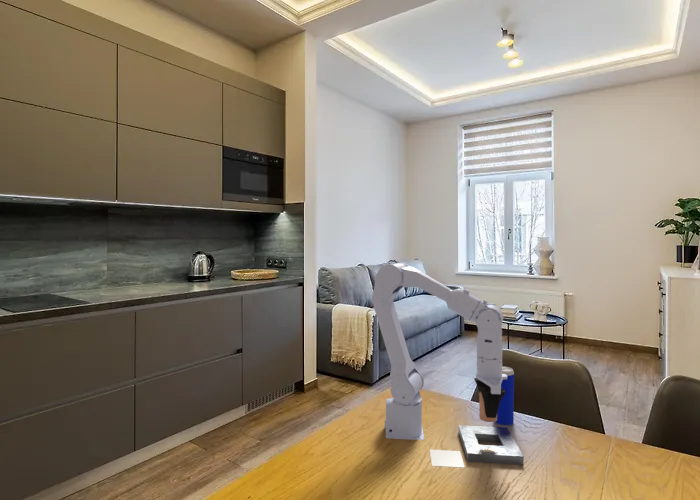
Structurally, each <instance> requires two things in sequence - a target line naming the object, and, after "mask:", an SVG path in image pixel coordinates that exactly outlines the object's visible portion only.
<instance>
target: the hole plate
mask: <svg viewBox="0 0 700 500" xmlns="http://www.w3.org/2000/svg"><path fill="white" fill-rule="evenodd" d="M458 435H459V439H460V442H461V444H462V448H463V452H464V455H465V458H466V461H467V463H481V464H498V465H499V464H500V465H514V466H524V465H525V463H524V460H525V459H524V455H523V453H522V451H521V449H520V447H519V446H518V443H517V442H516V440H515V439H514V436H512V433H511V431H510V430H509V428H508V427H507V426H488V425H487V426H482V425H481V426H480V425H465V424H464V425H463V424H462V425H461V424H458ZM479 442H480V443H497V444H498V445H494V444H493V445H489V444H487V445H486V444H479Z"/></svg>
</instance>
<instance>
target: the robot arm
mask: <svg viewBox="0 0 700 500" xmlns="http://www.w3.org/2000/svg"><path fill="white" fill-rule="evenodd" d="M402 288H418V289H420V290H423V291H424V292H426V293H428V294H431V295H432V296H434V297H436V298H438V299H440V300H442V301H444V302H445V303H446V306H447V308H448V310H450V311H451V312H454V313H455V314H457V315H459V316H461V317H462V318H464V319H466V320H468V321H470V322H471V323H475V325H476V328H477V337H476V372H475V377H474V378H473V380H474V382H475V384H476V387H477V389H478V393H479V392H480V391H481V394H482V397H483V401H484V408H485V414H486V417H487V418H496V416H497V412H498V408H499V404H500V402H501V399H502V398H503V396H504V395H505V390H504V389H501V383H502V380H503V379H507V375H506V374H502V366H503V336H502V335H503V329H502V325H503V321H504V313H503V311H502V309H501V308H500V307H499V306H497V305H496V304H495V303H493V302H492V303H490V302H489V301H488V300H487V299H485V298H484V299H481V298H479V297H477V296H475V295H473V294H472V293H470V290H469V289H468V288H464V289H462V288H455V289H451V288H450V287H448V286H446V285H445V284H443V283H441V282H439V281H438V280H436V279H435V278H433V277H431V276H429V275H427V274H426V273H424V272H423V271H421V270H420V269H418V268H416V267H414V266H411V265H408V264H406V263H405V262H401V261H400V262H399V261H397V262H394V263H389V264H388V263H387V264H385V265H382V266H381V268H379V270H378V271H377V273H376V274H375V276H374V287H373V291H372V295H371V301H372V305H373V309H374V311H375V316H376V318H377V321H378V325H379V328H380V332H381V336H382V340H383V342H384V343H383V344H384V346H385V349H386V352H387V355H388V359H389V362H390V366H391V367H390V373H389V374H390V375H389V378H390V381H391V383H390V384H391V385H390V394H391V396H392V397H390V398H386V399H385V420H384V428H385V438H386V439H394V440H395V439H396V440H413V441H414V440H415V441H424V440H425V435H424V428H423V424H422V423H423V421H422V419H423V417H422V416H423V409H422V408H423V398H422V395H421V392H420V391H421V390H422V389H423V387H424V384H425V380H424V376H423V375H422V374H421V372H420V371H419V370H418V368H417V365H416V362H414V361H413V360H412V359H411V356H410V353H409V349H408V346H407V343H406V340H405V336H404V332H403V330H402V327H401V323H400V319H399V317H398V313H397V309H396V306H395V301H394V300H395V298H396V297H397V295H398V293H400V290H401V289H402Z"/></svg>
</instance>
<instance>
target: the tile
mask: <svg viewBox="0 0 700 500" xmlns="http://www.w3.org/2000/svg"><path fill="white" fill-rule="evenodd" d="M429 455H430V461H431V466H433V467H446V468H447V467H448V468H460V469H461V468H464V469H465V463H464V460H463V457H462V453H461V451H460V450H445V449H430V448H429Z"/></svg>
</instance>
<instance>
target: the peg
mask: <svg viewBox="0 0 700 500" xmlns="http://www.w3.org/2000/svg"><path fill="white" fill-rule="evenodd" d="M478 394H479V396H478V397H479V398H478V399H479V401H478V402H479V406H478V407H479V408H478V409H479V416H478V418H479V420H480V421H483V422H487V423H495V421H497V416H496V418H487V417H486V414H485V408H484V401H483V397H482V394H481V391H480V392H479V391H478Z"/></svg>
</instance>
